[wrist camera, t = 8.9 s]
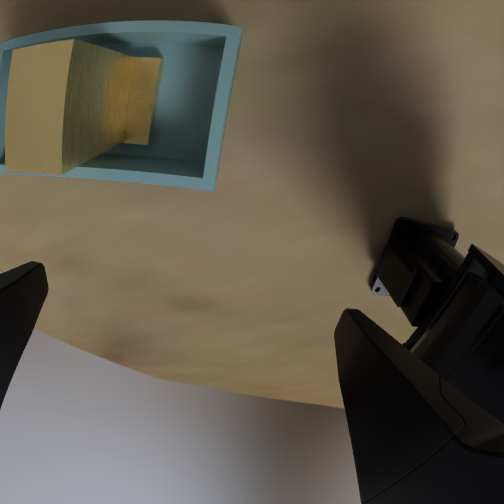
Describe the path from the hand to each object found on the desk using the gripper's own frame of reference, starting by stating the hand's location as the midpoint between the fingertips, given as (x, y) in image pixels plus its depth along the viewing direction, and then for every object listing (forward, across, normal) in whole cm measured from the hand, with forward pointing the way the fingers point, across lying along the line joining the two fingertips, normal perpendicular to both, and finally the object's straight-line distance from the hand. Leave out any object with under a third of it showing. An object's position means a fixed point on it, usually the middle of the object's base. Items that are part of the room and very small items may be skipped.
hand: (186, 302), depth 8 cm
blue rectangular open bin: (+12, +7, -5) cm, 14 cm away
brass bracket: (+11, +7, -5) cm, 14 cm away
